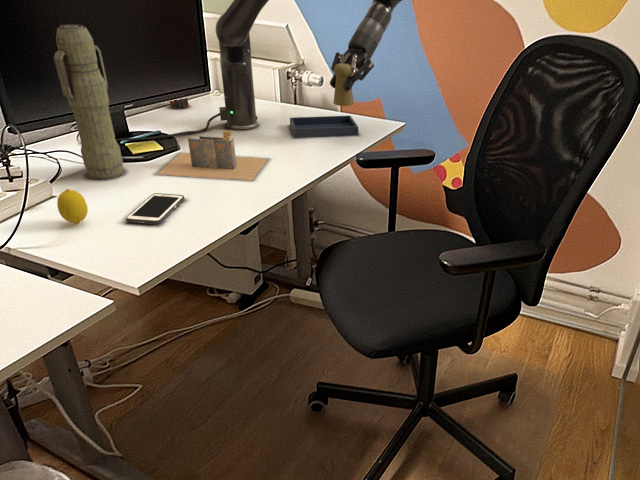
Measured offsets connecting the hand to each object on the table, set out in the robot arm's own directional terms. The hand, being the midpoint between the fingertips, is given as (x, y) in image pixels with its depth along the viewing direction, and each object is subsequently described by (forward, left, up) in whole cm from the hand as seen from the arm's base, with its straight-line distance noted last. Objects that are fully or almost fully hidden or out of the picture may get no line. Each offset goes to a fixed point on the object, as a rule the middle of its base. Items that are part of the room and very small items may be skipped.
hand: (338, 87), depth 173 cm
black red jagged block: (-48, +47, -17) cm, 69 cm away
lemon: (-66, -45, -17) cm, 82 cm away
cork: (+2, +1, -5) cm, 5 cm away
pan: (-3, +13, -16) cm, 21 cm away
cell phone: (-50, -41, -16) cm, 67 cm away
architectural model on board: (-37, -14, -17) cm, 43 cm away
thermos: (-64, -15, -17) cm, 68 cm away
